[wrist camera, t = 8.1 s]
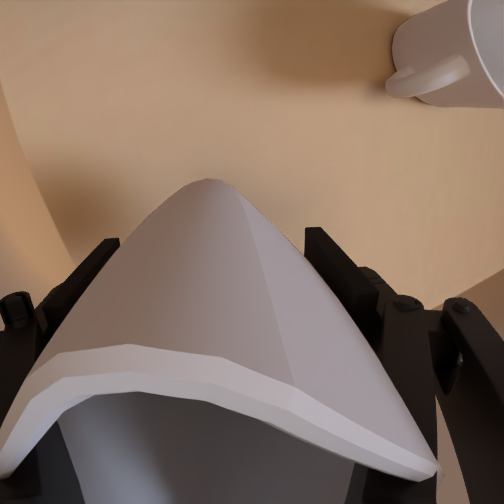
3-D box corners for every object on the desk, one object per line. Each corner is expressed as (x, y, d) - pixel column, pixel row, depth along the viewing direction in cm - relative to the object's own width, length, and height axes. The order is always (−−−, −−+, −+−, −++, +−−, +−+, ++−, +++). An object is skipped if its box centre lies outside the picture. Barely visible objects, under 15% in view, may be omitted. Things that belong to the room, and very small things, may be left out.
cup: (122, 246, 17) (-24, 484, 3) (209, 146, 16) (102, 257, 2) (218, 322, 19) (225, 577, 5) (306, 238, 18) (465, 481, 4)
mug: (386, 141, 23) (469, 156, 13) (333, 51, 20) (398, 10, 10) (475, 89, 21) (557, 89, 12) (434, 10, 18) (509, -19, 9)
